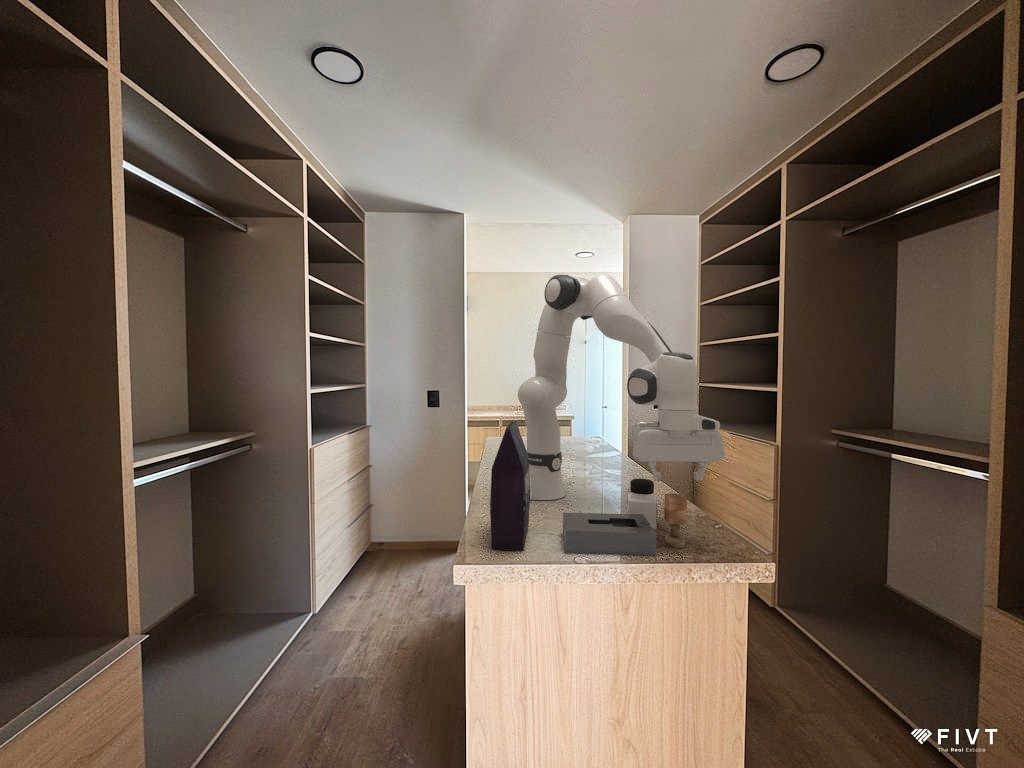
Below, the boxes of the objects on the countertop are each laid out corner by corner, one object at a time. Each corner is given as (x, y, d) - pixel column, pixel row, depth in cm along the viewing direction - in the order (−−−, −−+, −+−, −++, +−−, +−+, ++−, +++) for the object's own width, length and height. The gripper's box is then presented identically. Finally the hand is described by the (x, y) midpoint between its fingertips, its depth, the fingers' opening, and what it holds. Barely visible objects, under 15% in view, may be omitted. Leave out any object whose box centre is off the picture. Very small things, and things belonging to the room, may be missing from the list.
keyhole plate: (565, 552, 101) (565, 530, 101) (562, 531, 114) (562, 512, 114) (656, 555, 100) (656, 533, 100) (642, 534, 113) (643, 514, 113)
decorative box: (530, 527, 118) (530, 420, 117) (525, 552, 102) (525, 428, 101) (499, 525, 119) (499, 420, 118) (489, 550, 102) (489, 428, 102)
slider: (668, 548, 104) (668, 498, 104) (662, 541, 109) (663, 493, 108) (687, 548, 104) (688, 498, 104) (681, 541, 108) (682, 493, 108)
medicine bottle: (656, 529, 116) (657, 483, 116) (628, 527, 118) (629, 482, 117) (653, 520, 123) (654, 477, 123) (627, 518, 125) (627, 475, 124)
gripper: (635, 423, 103) (635, 483, 103) (727, 422, 102) (727, 483, 102) (629, 420, 109) (630, 477, 109) (716, 419, 108) (716, 477, 108)
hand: (677, 480), depth 106 cm, fingers open, 8 cm apart
